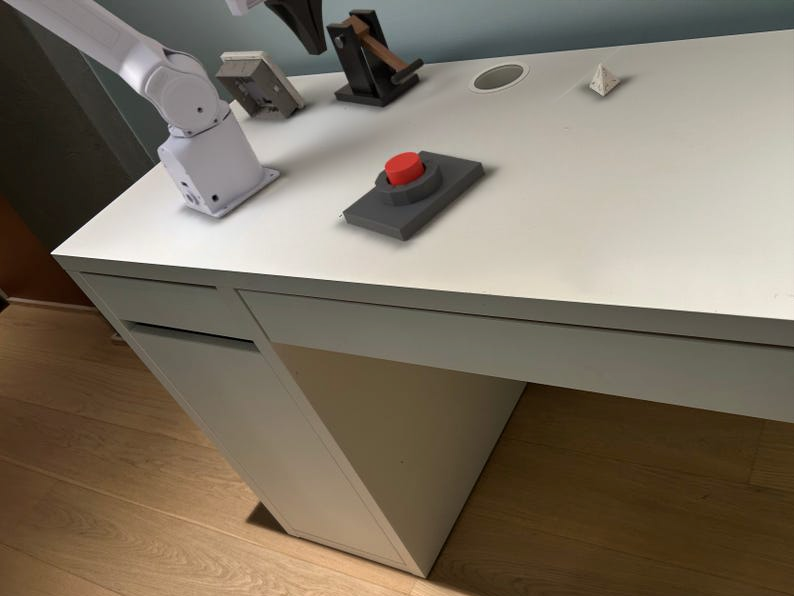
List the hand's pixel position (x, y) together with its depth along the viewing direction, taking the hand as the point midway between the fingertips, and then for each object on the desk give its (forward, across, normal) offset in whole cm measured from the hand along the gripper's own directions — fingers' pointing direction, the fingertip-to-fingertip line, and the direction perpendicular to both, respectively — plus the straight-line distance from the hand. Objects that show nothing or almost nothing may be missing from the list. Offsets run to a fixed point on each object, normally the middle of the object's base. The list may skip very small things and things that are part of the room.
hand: (318, 52), depth 83 cm
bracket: (+10, +10, +6) cm, 16 cm away
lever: (+6, +10, +3) cm, 12 cm away
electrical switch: (+11, +1, +19) cm, 22 cm away
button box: (+10, -8, -20) cm, 24 cm away
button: (+8, -8, -20) cm, 23 cm away
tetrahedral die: (+11, +16, -26) cm, 33 cm away
